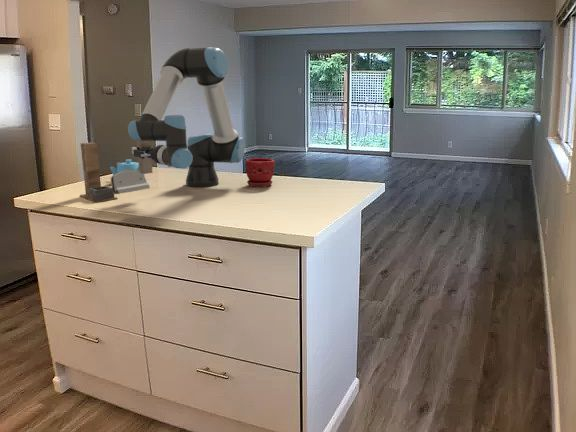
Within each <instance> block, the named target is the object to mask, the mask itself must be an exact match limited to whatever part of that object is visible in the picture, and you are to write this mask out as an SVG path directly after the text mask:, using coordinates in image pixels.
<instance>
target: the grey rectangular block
mask: <svg viewBox="0 0 576 432" xmlns="http://www.w3.org/2000/svg"><path fill="white" fill-rule="evenodd" d="M137 147H139V148H141V149H143V150H147V149H151V148H152V147H151V141H139V140H136V148H137ZM137 160H138V161H137V163H139V173H142V174H144V175H145V174H146V175H147V174H153V173H154V172H153V162H152V160H153V159H152V158H148V157H147V156H146V158H144V159H142V158H140V157H137Z"/></svg>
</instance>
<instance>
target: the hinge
mask: <svg viewBox="0 0 576 432" xmlns="http://www.w3.org/2000/svg"><path fill="white" fill-rule="evenodd" d="M144 175H145V174H142V173H139V171H138V170H126V171H122V172H119V173H117V174H115V175H113V174H112V176H111V177H110V185H111V188H113V191H114V193H117V194H125V193H132V192H135V191H143V190H147V189H148V190H149V189H150V184H149V183H148V182H147V179H146V176H145V177H144Z"/></svg>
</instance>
